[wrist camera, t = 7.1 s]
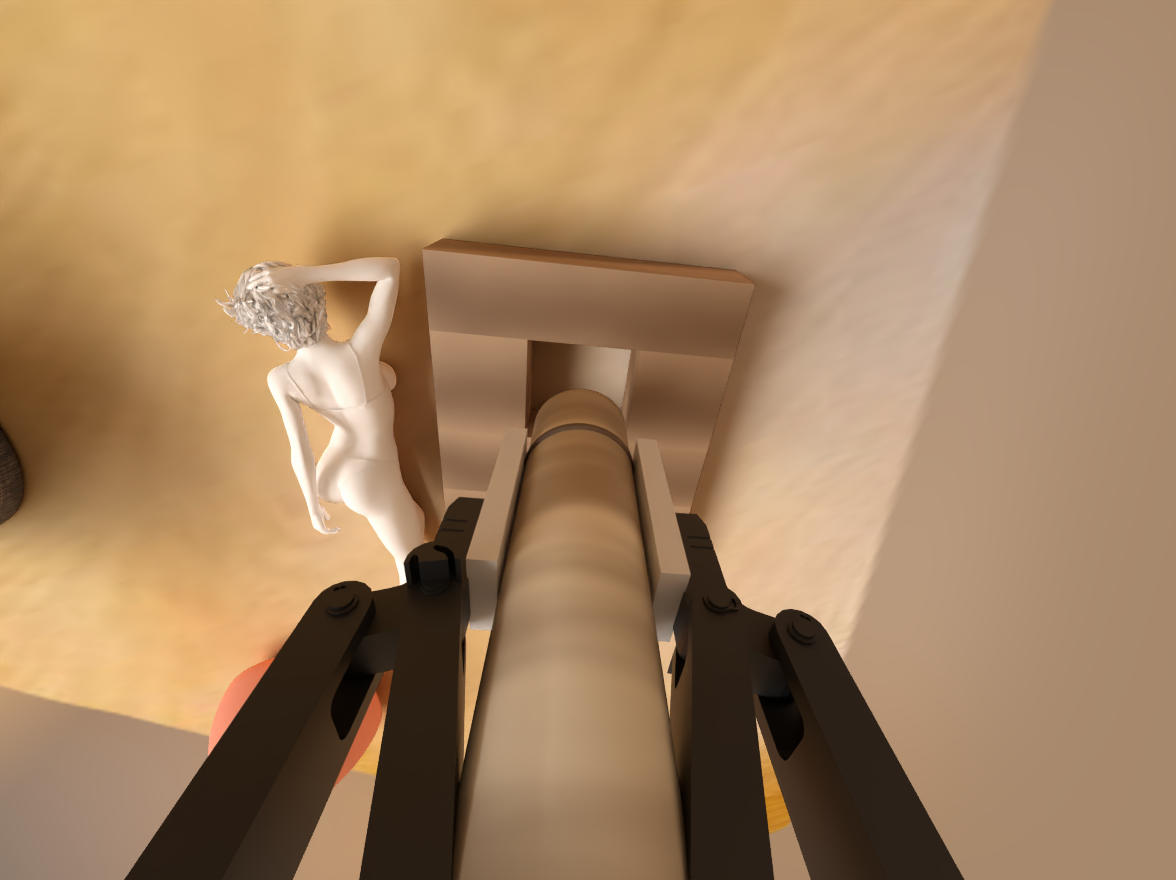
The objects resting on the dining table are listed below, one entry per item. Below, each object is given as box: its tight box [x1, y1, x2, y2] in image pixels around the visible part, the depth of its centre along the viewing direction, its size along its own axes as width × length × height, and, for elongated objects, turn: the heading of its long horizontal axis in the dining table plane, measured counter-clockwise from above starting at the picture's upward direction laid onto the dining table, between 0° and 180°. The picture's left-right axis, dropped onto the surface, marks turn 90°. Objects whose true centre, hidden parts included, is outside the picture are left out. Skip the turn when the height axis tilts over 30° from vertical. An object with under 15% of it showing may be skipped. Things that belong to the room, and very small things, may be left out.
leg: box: [452, 389, 688, 880], centre depth 13 cm, size 4×4×15 cm
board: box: [422, 239, 756, 514], centre depth 25 cm, size 20×14×3 cm
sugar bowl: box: [208, 657, 382, 788], centre depth 35 cm, size 12×14×10 cm
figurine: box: [215, 257, 425, 585], centre depth 25 cm, size 8×6×25 cm
